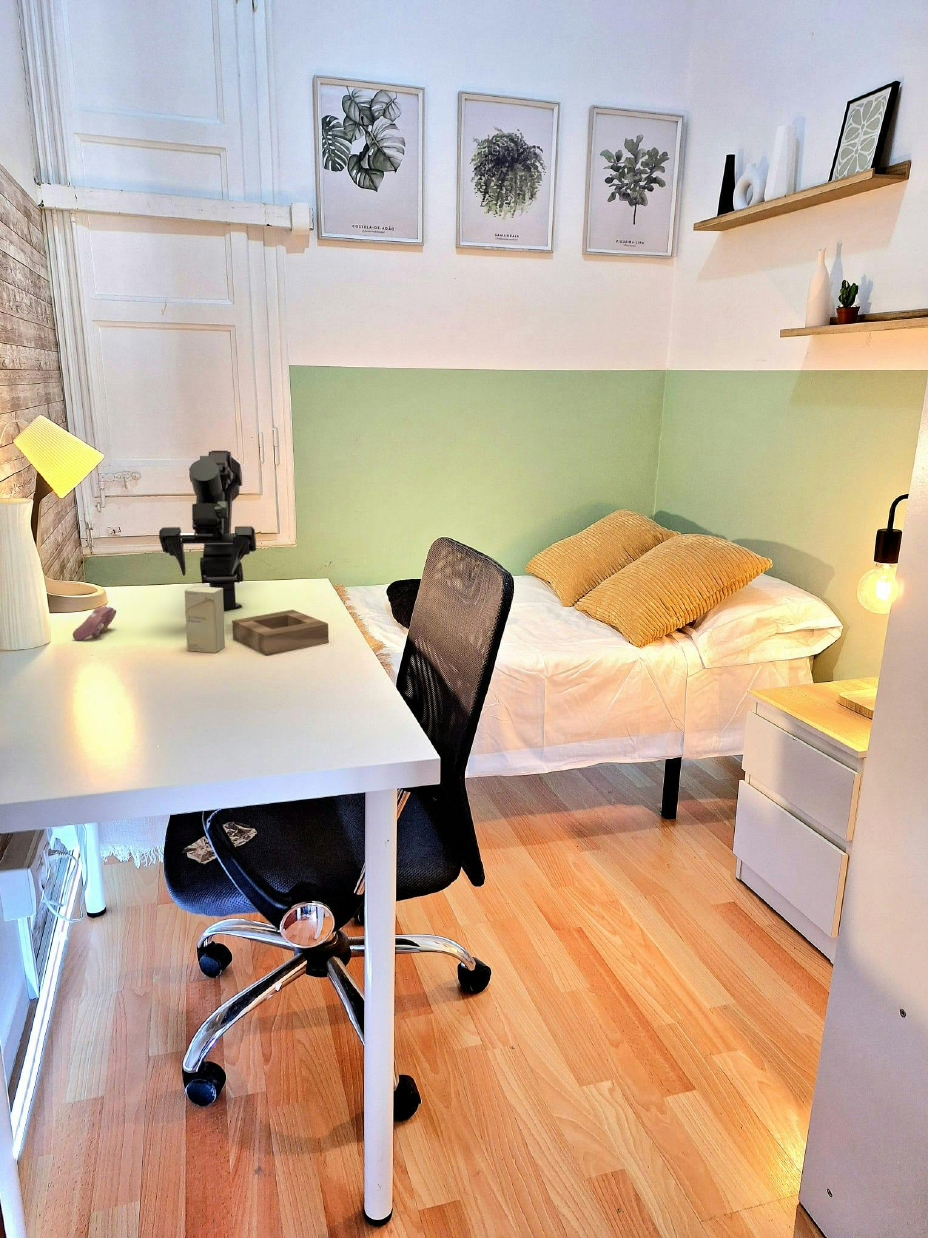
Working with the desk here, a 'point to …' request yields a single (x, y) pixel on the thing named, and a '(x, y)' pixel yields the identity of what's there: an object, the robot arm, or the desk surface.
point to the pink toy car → (95, 623)
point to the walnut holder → (280, 632)
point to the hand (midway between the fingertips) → (207, 573)
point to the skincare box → (204, 619)
